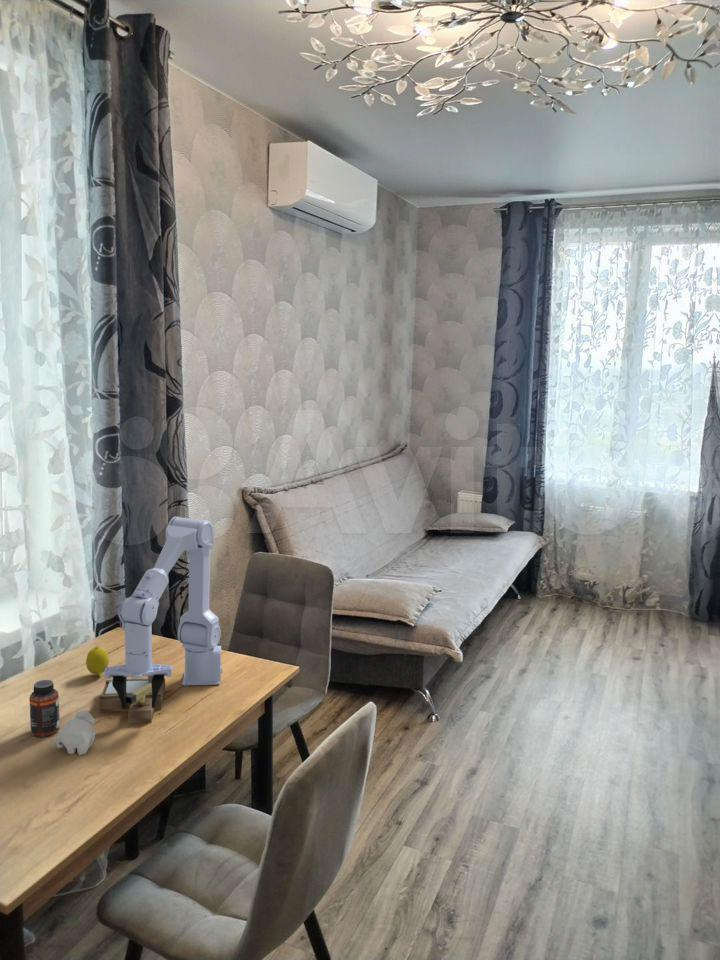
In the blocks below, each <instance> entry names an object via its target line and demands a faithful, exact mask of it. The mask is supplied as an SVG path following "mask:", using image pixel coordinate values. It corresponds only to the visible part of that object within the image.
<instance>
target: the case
mask: <svg viewBox="0 0 720 960" xmlns="http://www.w3.org/2000/svg"><path fill="white" fill-rule="evenodd" d="M112 681H113V679H105V685H104V688H103V690H102V692H101V694H100V695H99V699H98V701H99V702H98V705H99V706H98V707H99V710H98V711H99V713H106V712H107V713H108V712H128V724H142V723H143V724H145V723H146V724H147V723H152V722H153V717H154V714H155V711H161V710H162V706H163V702H164V697H165V693H166V679H165V677H164V680H163V683H162V685H161V687H160V690H159V692H158V695H157V699H156V706H155V708H152V693H149V694H147V695H145V705H144V706H138V700H137V701H136V702H134V703H133V704H129V703H127V706H126V709H122V704H121V700H120V698H119V695H118V694H113V695H105V692H106V690H107V687H108V685H109V682H112ZM127 681H148V678H136V679H133V678H130V679H127ZM128 695H130V694H127V696H128Z"/></svg>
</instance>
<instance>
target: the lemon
mask: <svg viewBox="0 0 720 960" xmlns="http://www.w3.org/2000/svg"><path fill="white" fill-rule="evenodd" d="M85 660H86V661H85V666H86V668H87V671H89V673H91V674H93V675H95V676H97V677H99V676H100V675H101V674H103V673H105V672H104V671H105V669H106V667H109V663H110V660H109V654H108V651H106V649H104V648H103V647H101V646H100V647H99V646H95V647H93V648H92V649H90V651H88V653H87V655H86V659H85Z"/></svg>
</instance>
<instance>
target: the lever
mask: <svg viewBox="0 0 720 960" xmlns="http://www.w3.org/2000/svg"><path fill="white" fill-rule="evenodd" d="M150 692H152V684H151V683H149V684H147V685H146V686H144V687H142V688H141V689H139V690H137V691H135V692H134V693H132V694H130V695H128V696H126V703H129V704H133V703H134V702H136V701H137V700H138V706H144V705H145V695H147V694H149V693H150Z"/></svg>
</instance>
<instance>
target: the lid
mask: <svg viewBox="0 0 720 960" xmlns="http://www.w3.org/2000/svg"><path fill="white" fill-rule="evenodd" d="M152 678H153V676H147V679H148V681H126V692H127V694H132V693H134V692H135V691H137V690H139V689H141V688H142V687H144V686H146V685H147V684H149V683H151V682H152ZM150 693H152V692H150ZM113 694H118V693H117V691H116V690H115V688H114V687H113V685H112V682H109V685H108V687H107V690H106V692H105V695H113Z"/></svg>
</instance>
